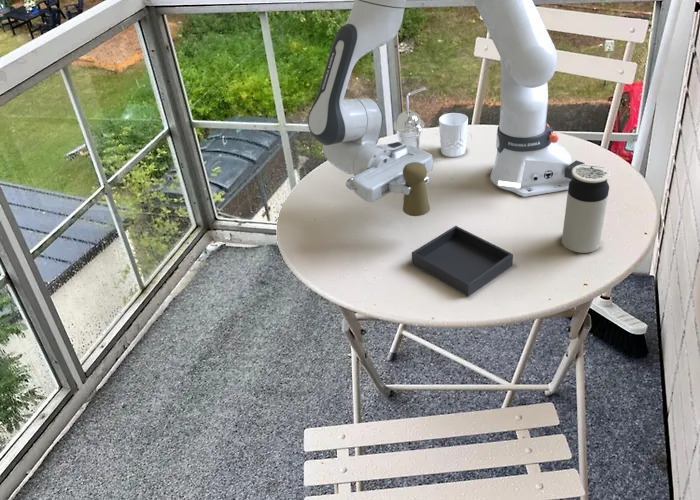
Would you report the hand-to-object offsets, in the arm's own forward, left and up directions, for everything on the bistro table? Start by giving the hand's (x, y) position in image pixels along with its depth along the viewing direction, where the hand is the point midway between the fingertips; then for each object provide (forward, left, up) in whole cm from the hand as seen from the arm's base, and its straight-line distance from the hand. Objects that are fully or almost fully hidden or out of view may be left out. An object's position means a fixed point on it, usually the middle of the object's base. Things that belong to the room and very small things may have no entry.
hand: (418, 186), depth 142 cm
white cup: (-12, -43, -15) cm, 47 cm away
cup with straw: (0, -41, -15) cm, 44 cm away
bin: (-8, +9, -15) cm, 19 cm away
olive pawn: (+1, -1, -6) cm, 6 cm away
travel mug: (-35, +4, -15) cm, 38 cm away
